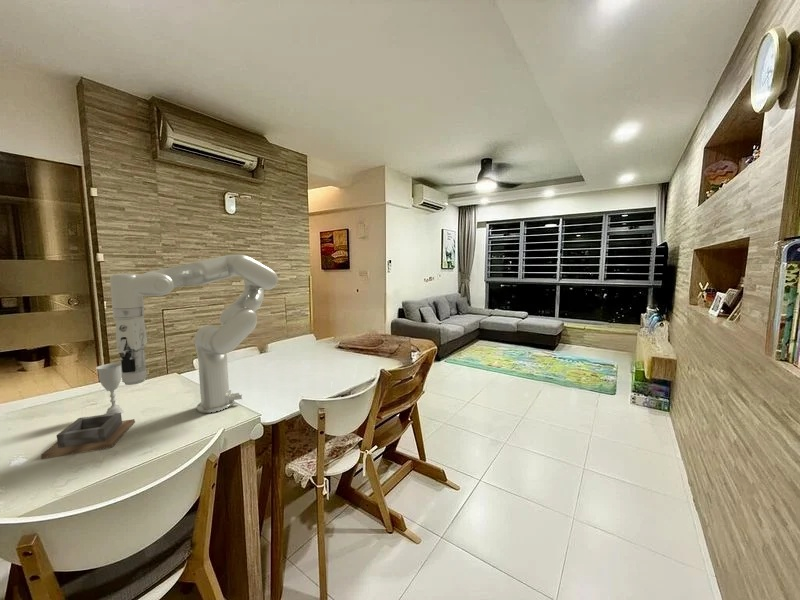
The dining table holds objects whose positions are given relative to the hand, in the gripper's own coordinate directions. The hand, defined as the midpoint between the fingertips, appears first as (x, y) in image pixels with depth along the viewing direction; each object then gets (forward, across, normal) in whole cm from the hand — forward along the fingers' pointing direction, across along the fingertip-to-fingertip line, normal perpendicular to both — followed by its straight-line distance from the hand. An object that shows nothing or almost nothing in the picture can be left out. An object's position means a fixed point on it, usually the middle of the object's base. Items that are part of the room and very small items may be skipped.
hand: (133, 368), depth 102 cm
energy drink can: (+5, 0, 0) cm, 5 cm away
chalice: (+22, +20, +14) cm, 32 cm away
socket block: (+22, 0, +12) cm, 25 cm away
